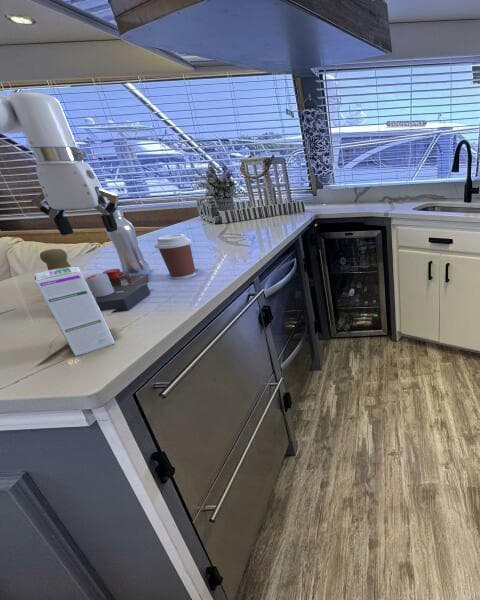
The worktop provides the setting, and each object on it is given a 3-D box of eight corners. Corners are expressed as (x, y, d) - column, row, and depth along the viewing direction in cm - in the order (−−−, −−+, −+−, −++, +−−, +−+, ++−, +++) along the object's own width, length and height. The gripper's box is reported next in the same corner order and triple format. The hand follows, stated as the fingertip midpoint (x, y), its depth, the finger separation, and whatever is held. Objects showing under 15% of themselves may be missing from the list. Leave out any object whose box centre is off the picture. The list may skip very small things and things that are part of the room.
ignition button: (102, 279, 85) (99, 273, 85) (110, 275, 89) (107, 269, 88) (117, 278, 86) (115, 271, 85) (124, 274, 89) (122, 268, 89)
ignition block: (85, 297, 84) (78, 283, 82) (105, 286, 92) (100, 272, 90) (132, 292, 86) (127, 278, 84) (148, 281, 94) (144, 268, 92)
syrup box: (116, 343, 60) (83, 269, 54) (73, 357, 56) (33, 279, 50) (110, 334, 64) (79, 264, 58) (70, 347, 60) (32, 272, 54)
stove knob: (97, 291, 78) (89, 273, 76) (118, 289, 79) (110, 271, 77) (85, 298, 74) (76, 279, 72) (107, 296, 75) (99, 276, 73)
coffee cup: (198, 269, 104) (187, 232, 99) (203, 275, 97) (192, 236, 92) (164, 275, 98) (151, 237, 94) (168, 283, 92) (153, 241, 87)
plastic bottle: (148, 278, 97) (123, 210, 89) (121, 281, 95) (93, 212, 87) (154, 272, 102) (131, 207, 95) (129, 275, 100) (103, 209, 92)
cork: (48, 290, 90) (29, 252, 86) (74, 283, 95) (57, 246, 91) (63, 291, 88) (44, 253, 84) (88, 284, 94) (71, 247, 89)
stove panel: (57, 319, 72) (50, 306, 70) (88, 300, 81) (83, 289, 80) (128, 310, 74) (123, 298, 73) (150, 293, 84) (146, 282, 83)
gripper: (112, 156, 78) (137, 227, 84) (27, 159, 74) (61, 232, 81) (91, 155, 71) (121, 232, 78) (-2, 158, 68) (37, 238, 74)
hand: (90, 232), depth 79 cm, fingers open, 9 cm apart
